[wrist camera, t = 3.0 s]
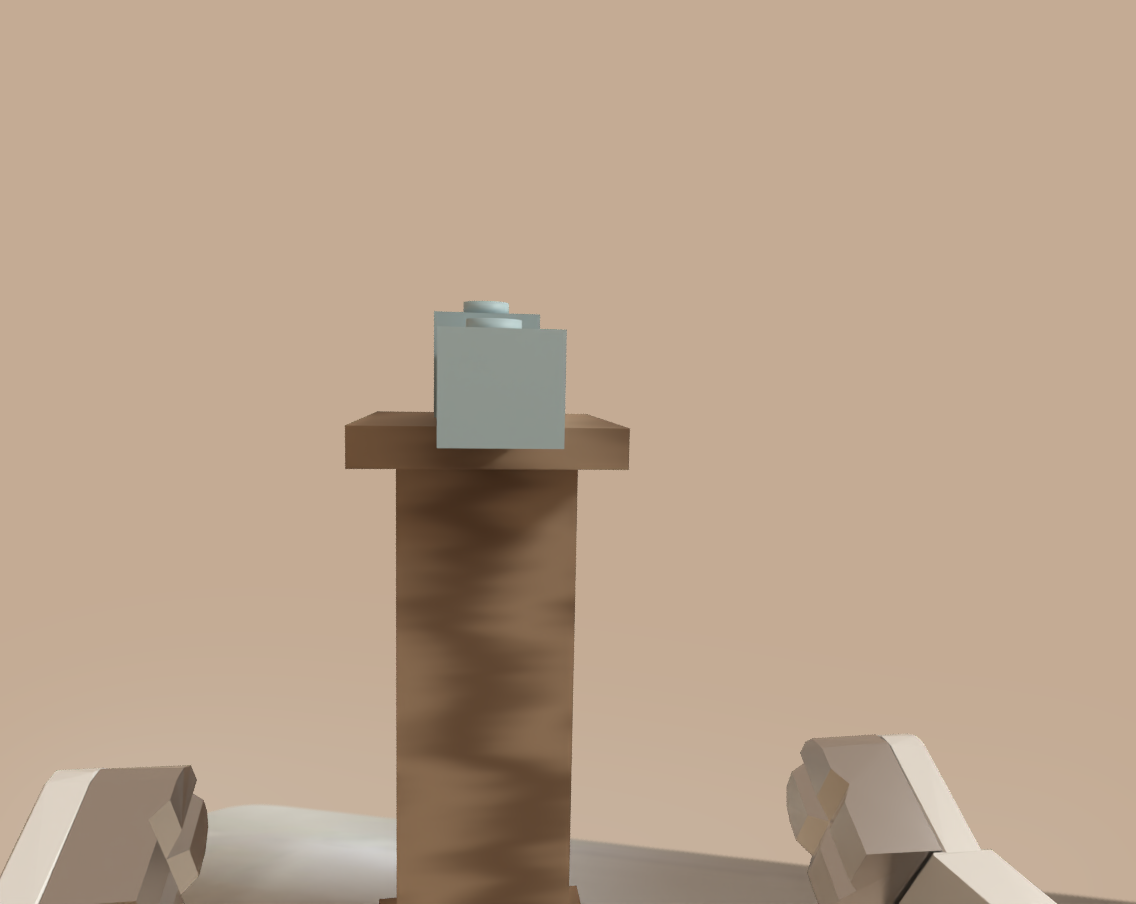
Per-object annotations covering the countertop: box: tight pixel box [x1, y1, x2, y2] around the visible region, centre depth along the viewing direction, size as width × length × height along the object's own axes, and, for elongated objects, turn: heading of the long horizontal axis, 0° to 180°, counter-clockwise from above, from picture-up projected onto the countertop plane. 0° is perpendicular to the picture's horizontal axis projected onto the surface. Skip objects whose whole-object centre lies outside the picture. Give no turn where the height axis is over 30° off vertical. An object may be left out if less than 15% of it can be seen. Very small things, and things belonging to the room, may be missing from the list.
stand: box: [345, 412, 630, 904], centre depth 34 cm, size 10×10×26 cm
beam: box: [434, 301, 567, 449], centre depth 28 cm, size 4×18×5 cm, turn 7°
